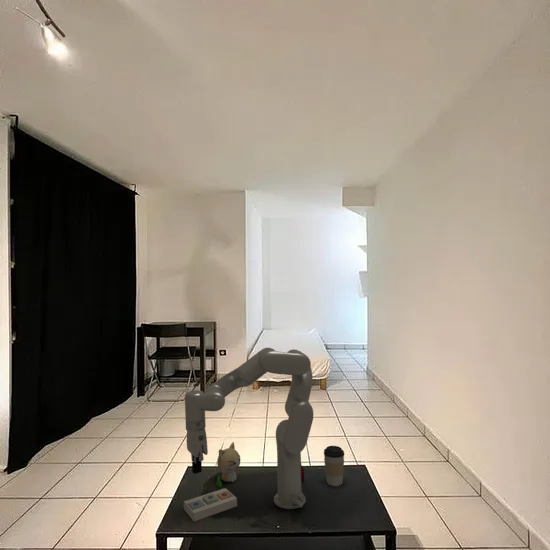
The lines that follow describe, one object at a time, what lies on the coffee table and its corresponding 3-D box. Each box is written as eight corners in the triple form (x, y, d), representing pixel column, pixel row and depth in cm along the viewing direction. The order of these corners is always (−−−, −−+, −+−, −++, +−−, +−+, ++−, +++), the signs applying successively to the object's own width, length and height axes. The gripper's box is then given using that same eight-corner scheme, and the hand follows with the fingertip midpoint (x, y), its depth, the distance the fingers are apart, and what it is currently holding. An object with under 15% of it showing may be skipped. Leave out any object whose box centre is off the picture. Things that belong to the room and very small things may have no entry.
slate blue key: (204, 511, 152) (204, 504, 153) (192, 515, 150) (192, 508, 150) (199, 506, 156) (199, 499, 156) (188, 509, 154) (188, 503, 154)
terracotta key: (232, 501, 159) (232, 495, 159) (221, 505, 157) (221, 498, 157) (227, 496, 163) (226, 490, 163) (216, 500, 160) (216, 493, 160)
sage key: (218, 504, 156) (218, 497, 156) (207, 508, 153) (207, 501, 153) (213, 499, 160) (213, 492, 160) (202, 502, 157) (202, 496, 157)
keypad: (237, 506, 157) (237, 498, 157) (193, 521, 147) (193, 513, 147) (225, 495, 166) (225, 488, 166) (183, 509, 156) (183, 501, 156)
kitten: (226, 490, 170) (226, 454, 170) (208, 484, 175) (208, 450, 175) (247, 476, 182) (246, 442, 183) (229, 471, 188) (229, 438, 188)
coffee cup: (332, 475, 182) (331, 442, 182) (349, 482, 175) (348, 447, 176) (320, 482, 175) (319, 447, 176) (337, 489, 169) (336, 453, 169)
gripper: (212, 427, 150) (214, 476, 150) (197, 417, 162) (198, 462, 162) (193, 431, 146) (195, 482, 145) (179, 421, 158) (180, 468, 158)
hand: (197, 472), depth 154 cm, fingers closed
